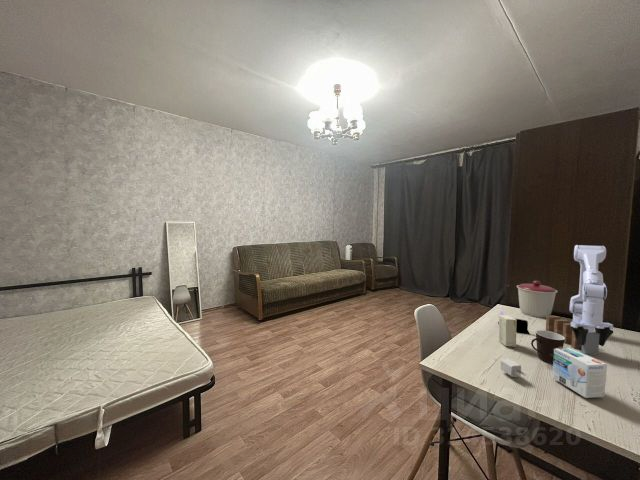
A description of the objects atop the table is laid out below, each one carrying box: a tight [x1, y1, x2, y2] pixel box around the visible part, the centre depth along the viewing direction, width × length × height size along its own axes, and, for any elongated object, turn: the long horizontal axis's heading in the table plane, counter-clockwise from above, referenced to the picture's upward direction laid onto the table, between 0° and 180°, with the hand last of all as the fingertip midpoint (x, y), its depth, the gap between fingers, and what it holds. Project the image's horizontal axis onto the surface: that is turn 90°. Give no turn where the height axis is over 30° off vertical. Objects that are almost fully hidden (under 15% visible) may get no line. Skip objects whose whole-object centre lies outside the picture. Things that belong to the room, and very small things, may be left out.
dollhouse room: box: [497, 311, 530, 335], centre depth 128 cm, size 12×12×7 cm
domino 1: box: [545, 315, 561, 332], centre depth 120 cm, size 2×5×9 cm, turn 86°
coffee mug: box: [530, 329, 565, 364], centre depth 99 cm, size 12×9×10 cm
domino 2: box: [554, 319, 570, 336], centre depth 116 cm, size 2×5×9 cm, turn 86°
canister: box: [516, 280, 558, 319], centre depth 145 cm, size 18×18×21 cm
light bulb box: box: [551, 347, 608, 399], centre depth 81 cm, size 11×7×11 cm, turn 5°
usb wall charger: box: [500, 358, 527, 378], centre depth 88 cm, size 4×7×4 cm, turn 7°
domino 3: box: [563, 322, 572, 345], centre depth 111 cm, size 2×5×9 cm, turn 86°
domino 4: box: [570, 328, 588, 350], centre depth 107 cm, size 2×5×9 cm, turn 86°
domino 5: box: [580, 331, 600, 356], centre depth 102 cm, size 2×5×9 cm, turn 86°
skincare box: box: [498, 314, 517, 347], centre depth 111 cm, size 6×4×12 cm
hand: (590, 344), depth 102 cm, fingers open, 7 cm apart
